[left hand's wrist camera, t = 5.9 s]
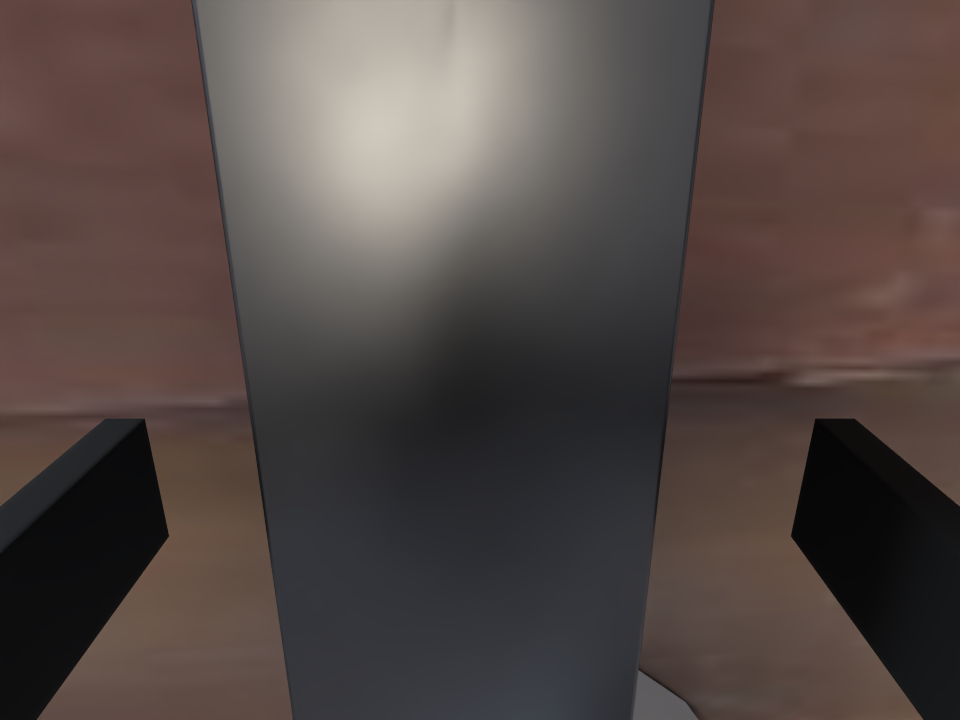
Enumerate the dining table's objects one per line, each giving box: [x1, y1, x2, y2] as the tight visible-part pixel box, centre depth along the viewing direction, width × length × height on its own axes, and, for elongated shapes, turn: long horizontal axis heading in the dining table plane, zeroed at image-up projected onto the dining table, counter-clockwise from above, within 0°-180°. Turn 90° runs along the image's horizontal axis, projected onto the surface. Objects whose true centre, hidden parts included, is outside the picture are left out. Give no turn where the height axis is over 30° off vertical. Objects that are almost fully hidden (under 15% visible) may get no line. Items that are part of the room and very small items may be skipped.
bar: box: [191, 0, 715, 720], centre depth 11 cm, size 23×5×9 cm, turn 0°
